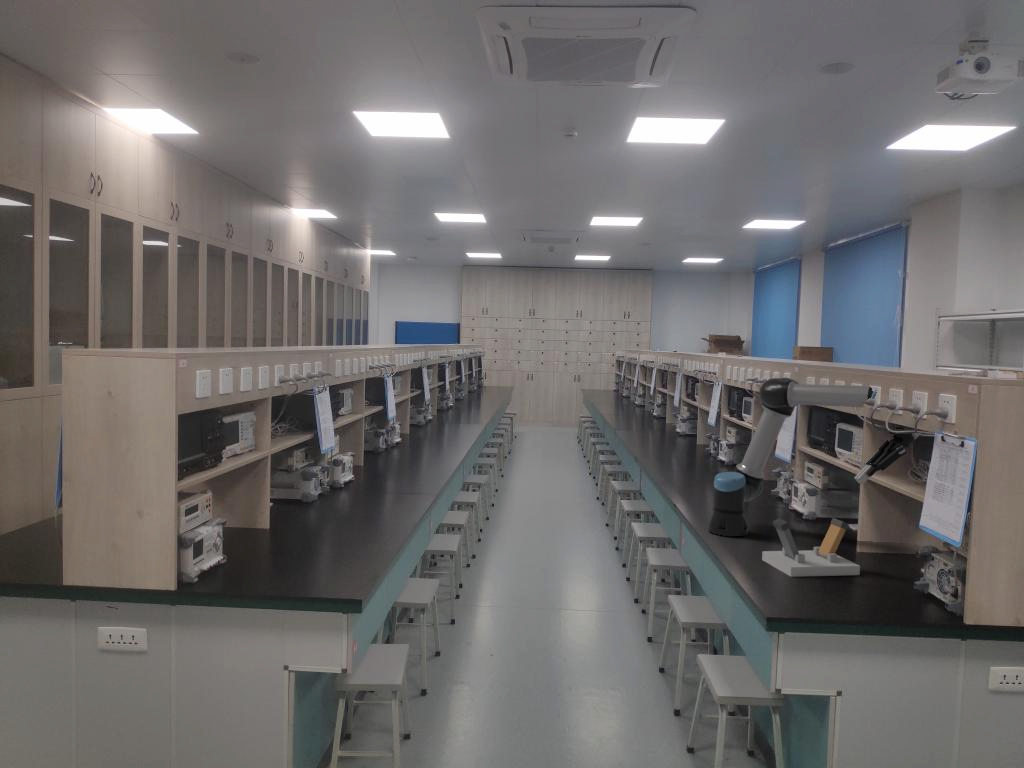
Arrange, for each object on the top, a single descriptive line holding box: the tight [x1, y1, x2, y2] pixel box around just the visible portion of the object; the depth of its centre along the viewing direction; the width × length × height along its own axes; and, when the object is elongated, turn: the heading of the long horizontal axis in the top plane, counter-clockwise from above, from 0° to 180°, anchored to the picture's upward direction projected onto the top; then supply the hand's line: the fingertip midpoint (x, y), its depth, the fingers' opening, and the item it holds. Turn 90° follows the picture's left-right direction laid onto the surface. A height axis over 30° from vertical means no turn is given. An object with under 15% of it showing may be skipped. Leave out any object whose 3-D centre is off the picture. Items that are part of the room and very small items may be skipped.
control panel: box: [761, 546, 861, 578], centre depth 214 cm, size 17×24×6 cm
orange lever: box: [818, 517, 850, 558], centre depth 215 cm, size 5×3×13 cm, turn 8°
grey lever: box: [772, 517, 799, 559], centre depth 212 cm, size 5×3×13 cm, turn 8°
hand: (858, 481), depth 220 cm, fingers closed
